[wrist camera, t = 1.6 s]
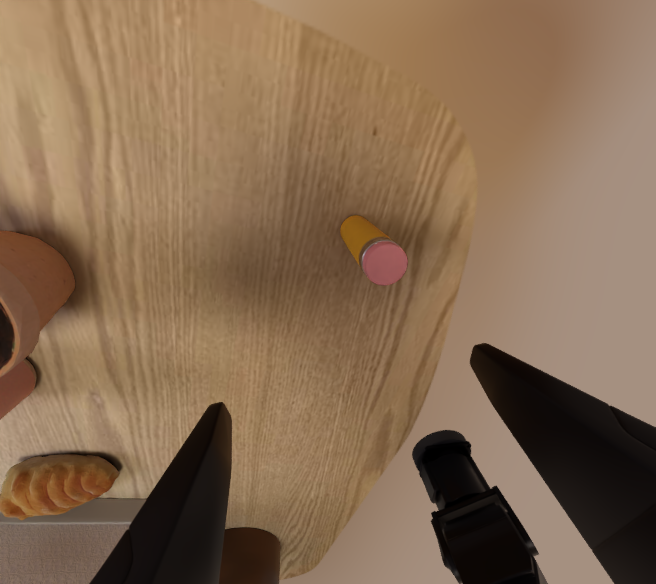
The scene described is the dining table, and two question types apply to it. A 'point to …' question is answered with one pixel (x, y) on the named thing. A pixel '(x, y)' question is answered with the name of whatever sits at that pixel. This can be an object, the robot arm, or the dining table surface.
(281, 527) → the dining table surface
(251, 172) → the dining table surface
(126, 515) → the red gift box
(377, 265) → the pencil
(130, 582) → the robot arm
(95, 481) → the pastry
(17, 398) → the beverage can
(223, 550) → the brown cylindrical pot
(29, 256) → the potted plant
